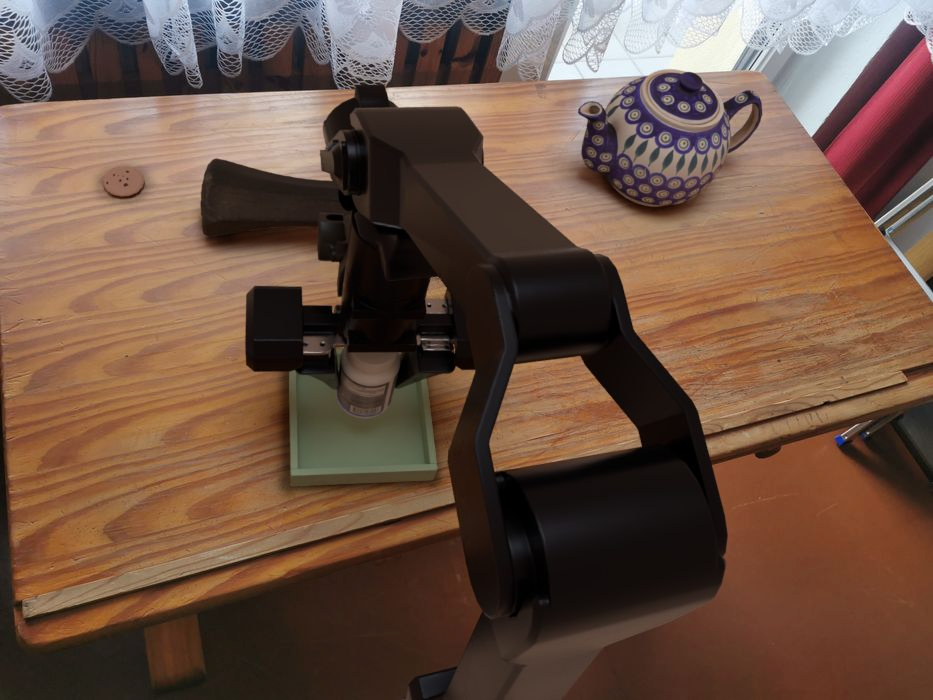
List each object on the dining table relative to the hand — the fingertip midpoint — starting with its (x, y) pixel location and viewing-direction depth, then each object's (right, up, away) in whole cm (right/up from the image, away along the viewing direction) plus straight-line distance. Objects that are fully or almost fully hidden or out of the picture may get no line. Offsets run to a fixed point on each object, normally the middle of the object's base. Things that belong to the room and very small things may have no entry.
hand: (366, 383), depth 64 cm
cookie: (-26, +19, +14) cm, 35 cm away
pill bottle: (0, -1, +2) cm, 2 cm away
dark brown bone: (-4, +14, +16) cm, 22 cm away
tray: (-1, -3, +5) cm, 6 cm away
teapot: (+30, +24, +31) cm, 49 cm away
